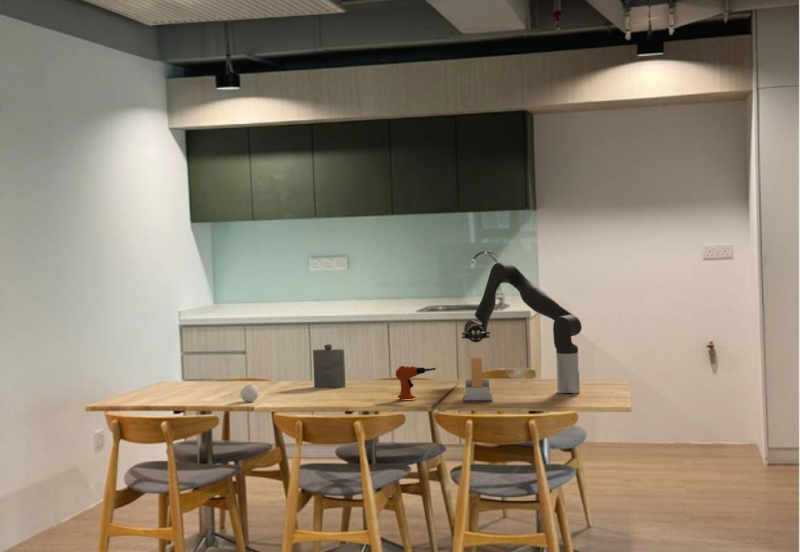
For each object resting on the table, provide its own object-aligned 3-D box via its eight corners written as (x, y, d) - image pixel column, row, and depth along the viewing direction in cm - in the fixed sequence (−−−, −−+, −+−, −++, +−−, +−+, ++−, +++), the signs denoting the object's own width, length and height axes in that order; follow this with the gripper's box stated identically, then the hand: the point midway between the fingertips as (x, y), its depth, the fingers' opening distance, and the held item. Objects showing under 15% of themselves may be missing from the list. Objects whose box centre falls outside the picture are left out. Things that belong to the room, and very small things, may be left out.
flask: (312, 388, 498) (310, 345, 497) (316, 386, 504) (314, 344, 503) (343, 388, 495) (341, 345, 494) (346, 386, 500) (345, 343, 500)
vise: (491, 396, 456) (491, 382, 456) (492, 402, 442) (491, 387, 442) (463, 397, 457) (463, 383, 457) (463, 402, 443) (462, 388, 443)
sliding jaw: (489, 394, 453) (488, 378, 452) (489, 396, 450) (489, 379, 449) (465, 395, 453) (465, 379, 453) (465, 396, 450) (465, 380, 450)
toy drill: (438, 397, 448) (432, 362, 448) (396, 402, 455) (391, 367, 455) (441, 396, 453) (436, 361, 453) (400, 400, 459) (395, 366, 459)
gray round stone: (250, 399, 470) (249, 382, 470) (262, 401, 465) (262, 383, 465) (237, 402, 463) (236, 385, 463) (250, 403, 459) (249, 386, 459)
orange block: (482, 396, 450) (481, 356, 449) (483, 398, 445) (481, 358, 445) (472, 397, 450) (471, 357, 449) (472, 398, 446) (471, 358, 445)
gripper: (460, 325, 480) (460, 328, 463) (490, 324, 479) (490, 328, 462) (461, 341, 480) (460, 346, 463) (490, 340, 479) (491, 345, 462)
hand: (475, 337), depth 462 cm, fingers closed
